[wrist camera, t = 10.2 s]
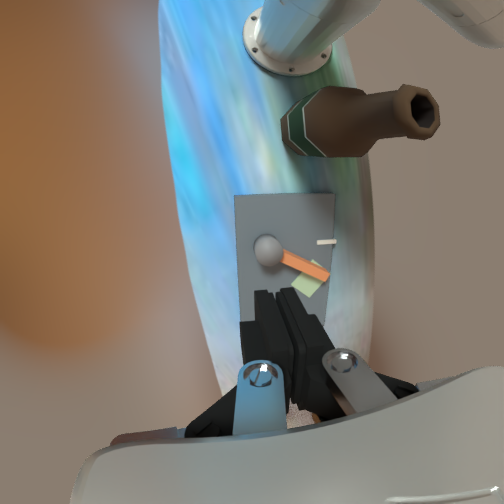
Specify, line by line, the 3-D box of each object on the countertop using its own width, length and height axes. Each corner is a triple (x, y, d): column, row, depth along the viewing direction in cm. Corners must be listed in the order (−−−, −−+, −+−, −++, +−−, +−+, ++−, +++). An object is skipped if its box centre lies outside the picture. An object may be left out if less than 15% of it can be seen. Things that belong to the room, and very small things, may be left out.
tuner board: (234, 195, 36) (234, 197, 35) (335, 192, 38) (339, 194, 37) (241, 330, 44) (241, 335, 43) (324, 320, 46) (327, 325, 44)
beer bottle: (340, 143, 35) (473, 152, 13) (293, 165, 36) (401, 194, 14) (316, 94, 33) (435, 45, 10) (267, 115, 33) (348, 64, 11)
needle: (248, 252, 38) (250, 259, 35) (260, 229, 37) (264, 235, 34) (317, 282, 41) (323, 291, 38) (329, 262, 40) (336, 270, 38)
